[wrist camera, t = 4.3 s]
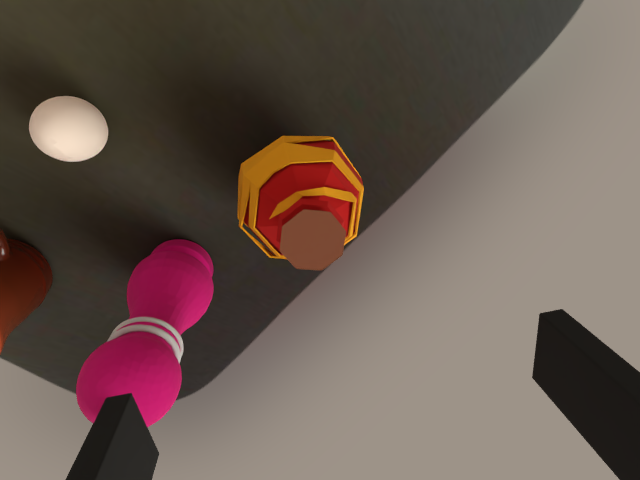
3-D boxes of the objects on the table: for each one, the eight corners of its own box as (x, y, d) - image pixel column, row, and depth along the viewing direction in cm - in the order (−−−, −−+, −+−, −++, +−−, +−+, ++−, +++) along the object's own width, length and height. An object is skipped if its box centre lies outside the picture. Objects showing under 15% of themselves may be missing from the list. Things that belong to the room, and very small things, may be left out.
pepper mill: (136, 286, 39) (23, 473, 21) (153, 224, 37) (42, 373, 19) (207, 305, 41) (159, 491, 23) (227, 246, 39) (192, 402, 21)
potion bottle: (334, 106, 35) (377, 131, 21) (359, 211, 39) (408, 287, 25) (222, 139, 35) (192, 185, 21) (259, 240, 39) (254, 333, 25)
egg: (111, 93, 32) (75, 98, 26) (124, 152, 34) (92, 169, 28) (49, 94, 32) (-3, 100, 26) (65, 153, 34) (20, 172, 28)
